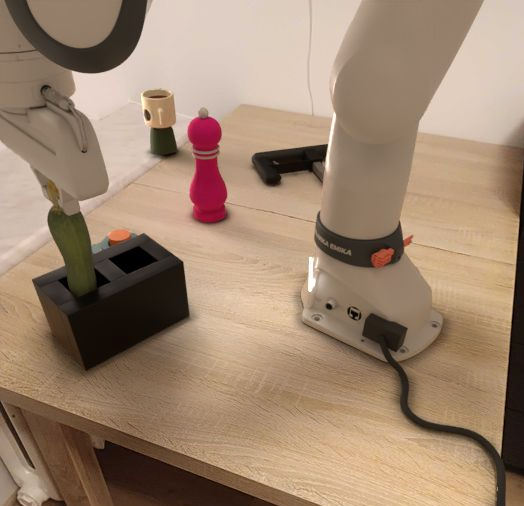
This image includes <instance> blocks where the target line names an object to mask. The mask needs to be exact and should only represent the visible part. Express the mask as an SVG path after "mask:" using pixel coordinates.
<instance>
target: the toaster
mask: <svg viewBox="0 0 524 506" xmlns="http://www.w3.org/2000/svg"><path fill="white" fill-rule="evenodd" d="M137 235H138V236H135V237H133V238H130V239H128V240H126V241H123V242H121V243H118V244H116V245H114V246H111V247H109V248H106V249H104V250H101V251H99V252H97V253H94V254H92V257H93V264H94V271H95V275H96V283H97V289H95V290H93V291H91V292H89V293H86V294H84V295H82V296H80V297H78V298H75V297H74V296H73V295H72V294H71V293H70V290H69V286H68V280H67V272H66V266H65V265H63V266H61V267H58V268H55V269H53V270H51V271H48V272H46V273H44V274H41V275H38V276H36V277H33V278H31V282H32V284H33V288H34V290H35V292H36V295H37V297H38V300H39V303H40V306H41V308H42V311H43V314H44V316H45V319H46V322H47V324H48V326H49V329H50V332H51V334H52V336H53V337H54V338H55V339H56V340H57V341H58V343H59V344H60V345H61V346H62V347H63V348H64V349H65V350H66V351H67V352H68V354H69V355H70V356H71V357H72V358H73V359H74V360H75V362H76V363H77V364H79V366H80V367H81V368H82V369H83V370H84V371H85V372H88V371H90V370H92V369H93V368H96V367H98V366H99V365H101V364H103V363H105V362H106V361H109V360H110V359H112V358H114V357H116V356H117V355H120V354H121V353H123V352H125V351H128V350H129V349H131V348H133V347H135V346H137V345H139V344H140V343H142V342H144V341H145V340H147V339H149V338H151V337H153V336H155V335H157V334H159V333H161V332H163V331H164V330H166V329H168V328H170V327H172V326H174V325H175V324H177V323H180V322H181V321H183V320H185V319H186V318H189V317H190V307H189V297H188V290H187V289H188V288H187V280H186V271H185V264H184V260H182V259H180V257H178V256H176V255H175V254H174V253H173V252H171V251H170V250H168V249H167V248H165V247H164V246H163V245H161V244H160V243H158V242H157V241H155V239H153V238H151V237H150V236H149V235H148V234H146V233H145V232H143V233H140V234H137Z"/></svg>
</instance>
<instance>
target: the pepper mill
mask: <svg viewBox="0 0 524 506" xmlns="http://www.w3.org/2000/svg"><path fill="white" fill-rule="evenodd" d="M197 115H198V116H195V117H194V118H193V119H191V121H190V122H189V123H188V126H187V129H186V134H187V138H188V141H189V142H190V143H191V147H190V149H191V155H192V156H193V157H194V161H195V162H194V163H195V168H194V169H195V170H194V175H193V178H192V179H191V182H190V186H189V199H190V201H191V203H192V204H193V207H192V210H193V216H194V218H195V220H197V221H199V222H200V223H201V222H202V223H216V222H219V221H221V220H224V218H225V217H226V214H227V213H226V212H227V211H226V204H225V202H226V201H227V199H228V188H227V185H226V182H225V180H224V178H223V176H222V174H221V171H220V168H219V163H218V159H219V156H220V154H221V151H220V148H221V146H220V145H219V143H220V141H221V140H222V136H223V131H222V128H221V125H220V123H219V122H218V120H217V119H216V118H214V117H212V116H209V115H210V113H209V110H208V109H207V108H206V107H200V108H199V109H198V111H197Z"/></svg>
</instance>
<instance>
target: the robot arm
mask: <svg viewBox="0 0 524 506" xmlns="http://www.w3.org/2000/svg"><path fill="white" fill-rule="evenodd" d="M153 1H154V0H0V143H1V144H2V145H3V146H5V147H6V148H8V149H9V150H10V151H12V152H13V153H14V154H16V156H18V157H20V158H21V159H22V160H24V161H25V162H26V163H28V165H29V168H30V170H31V171H32V173H33V175H34V177H35V179H36V180H37V182H38V185H40V188H41V191H42V194H43V197H44V198H45V199H47V200H48V201H49V202H51V201H50V200H49V198H48V194H47V182H48V181H47V180H48V179H50V180H51V181H52V182H54V183H55V186H56V188H58V189H59V197H57V200H58V203H59V207H60V209H61V210H62V211H63V212H64V213H65V214H66V215H69V216H70V215H73V214H76V213H78V212H79V211H81V206H80V202H84V201H88V200H90V199H93V198H96V197H98V196H101V195H104V194H106V193H107V192H108V189H109V186H110V179H109V175H108V171H107V166H106V163H105V159H104V156H103V153H102V149H101V146H100V141H99V139H98V136H97V133H96V131H95V128H94V126H93V124H92V122H91V120H90V119H89V117H88V116H87V115H86V114H85V113H84V112H82V111H81V110H79V109H77V108H76V104H75V102H74V100H72V99H71V97H73V95H74V94H75V93H76V83H75V79H74V74H73V72H76V73H80V74H89V75H91V74H92V75H93V74H102V73H107V72H109V71H112V70H114V69H116V68H118V67H119V66H121V65H122V64H124V63H125V62H126V61H127V60H128V59H129V58H130V56H131V55H132V54H133V53H134V51H135V50H136V48H137V47H138V45H139V41H140V39H141V37H142V33H143V31H144V30H143V29H144V26H145V21H146V18H147V16H148V13H149V11H150V10H151V7H152V4H153ZM484 1H485V0H361V1H360V3H359V5H358V7H357V9H356V11H355V14H354V16H353V19H352V20H351V22H350V24H349V25H348V26H347V29H346V31H345V33H344V36H343V38H342V40H341V43H340V46H339V48H338V50H337V53H336V56H335V58H334V61H333V63H332V66H331V71H330V76H329V94H330V101H331V105H332V117H331V123H330V130H329V137H328V143H327V144H328V149H327V154H326V158H325V161H324V162H325V163H324V167H325V170H324V179H323V182H322V189H321V197H320V198H321V199H320V209H319V210H318V212H317V214H316V218H315V226H314V233H313V234H314V235H313V239H314V243H315V245H314V250H313V257H309V261H308V262H309V265H308V274H307V277H306V279H305V281H304V283H303V286H302V288H301V290H300V300H301V303H302V306H303V310H302V314H301V321H302V323H303V324H305V325H307V326H309V327H311V328H313V329H315V330H317V331H319V332H321V333H324V334H326V335H328V336H329V337H332V338H334V339H336V340H339V342H343V343H344V344H346V345H349V346H351V347H353V348H355V349H357V350H358V351H361V352H363V353H365V354H367V355H369V356H372V357H374V358H375V359H377V360H380V361H382V362H385V363H388V364H389V365H390V366H391V367H392V368H393V369H394V371H396V373H397V374H398V376H399V378H400V382H401V393H400V400H399V402H400V408H401V410H402V412H403V414H404V415H405V416H406V417H407V419H409V421H411V422H412V423H413V424H415V425H417V426H419V427H421V428H423V429H426V430H430V431H433V432H439V433H447V434H451V435H452V434H453V435H458V436H463V437H467V438H469V439H472V440H473V441H475V442H477V443H478V444H479V445H481V446H482V448H484V449H485V451H487V453H488V454H489V455H490V457H491V458H492V460H493V462H494V465H495V471H496V488H497V487H498V491H497V490H496V495H495V498H496V497H497V501H495V504H496V505H495V506H506V502H507V501H506V498H507V495H506V494H507V491H506V490H507V478H506V476H507V474H506V473H507V472H506V468H505V463H504V461H503V458H502V456H501V454H500V453H499V452H498V450H497V448H496V447H495V446H494V445H493V444H492V443H491V442H490V441H489V440H488V439H487V438H486V437H484V435H481V434H480V433H478V432H476V431H474V430H471V429H469V428H465V427H460V426H455V425H449V424H441V423H435V422H431V421H427V420H425V419H423V418H421V417H419V416H418V415H416V414H415V413H414V412H413V411H412V410H411V408H410V406H409V394H410V393H409V392H410V382H409V377H408V375H407V373H406V370H405V369H404V368H403V367H402V366H401V365H400V363H399V362H402V361H406V360H408V359H411V358H413V357H415V356H416V355H418V354H420V353H422V352H423V351H424V350H425V349H427V348H428V347H429V346H431V344H432V343H433V342H434V341H435V340H436V339H437V338H438V336H439V335H440V333H441V331H442V328H443V324H444V323H443V322H444V318H443V316H442V314H441V313H439V312H438V311H437V310H436V309H434V308H433V307H432V304H433V292H432V291H433V290H432V288H431V286H430V284H429V282H427V280H426V279H425V277H424V276H423V275H422V273H421V272H420V270H419V268H418V267H417V266H416V265H415V263H413V261H412V260H411V258H410V257H409V255H408V254H407V253H406V252H405V248H406V247H408V246H410V244H411V243H413V239H414V235H413V234H411V235H409V236H408V237H406V238H404V234H403V228H402V223H401V215H402V211H403V206H404V202H405V197H406V195H407V189H408V185H409V181H410V176H411V172H412V167H413V160H414V154H415V148H416V142H417V137H418V131H419V126H420V121H421V120H422V118H423V117H424V115H425V114H426V112H427V110H428V108H429V106H430V104H431V103H432V100H433V99H434V96H435V95H436V93H437V91H438V89H439V88H440V85H441V84H442V83H443V80H444V78H445V77H446V74H447V73H448V71H449V69H450V68H451V66H452V64H453V62H454V60H455V58H456V56H457V55H458V53H459V51H460V48H461V47H462V45H463V43H464V42H465V40H466V37H467V35H468V33H469V31H470V30H471V28H472V26H473V23H474V21H475V20H476V18H477V16H478V14H479V12H480V10H481V8H482V6H483V4H484Z"/></svg>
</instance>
